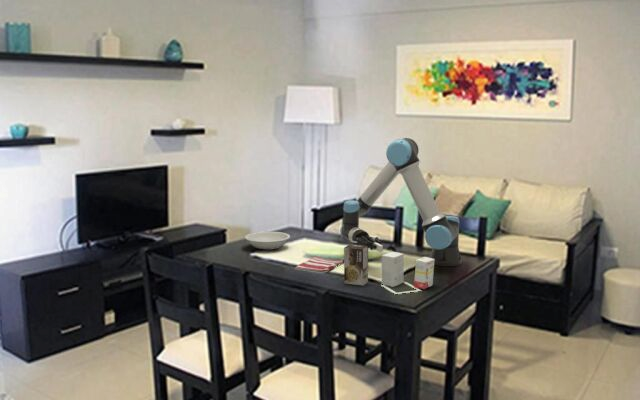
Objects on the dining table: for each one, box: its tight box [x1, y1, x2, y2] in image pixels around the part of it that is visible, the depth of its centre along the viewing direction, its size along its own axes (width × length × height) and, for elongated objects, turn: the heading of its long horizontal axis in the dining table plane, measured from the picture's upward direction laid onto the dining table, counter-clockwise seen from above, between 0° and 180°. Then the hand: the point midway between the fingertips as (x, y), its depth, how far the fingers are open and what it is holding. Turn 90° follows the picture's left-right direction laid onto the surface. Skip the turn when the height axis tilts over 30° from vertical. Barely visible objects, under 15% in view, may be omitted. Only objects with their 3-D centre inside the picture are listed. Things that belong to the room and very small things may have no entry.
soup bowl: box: [244, 231, 291, 250], centre depth 329 cm, size 24×24×7 cm
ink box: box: [413, 256, 435, 290], centre depth 260 cm, size 9×5×12 cm, turn 144°
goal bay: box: [380, 281, 423, 295], centre depth 259 cm, size 12×13×1 cm
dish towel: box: [294, 255, 344, 274], centre depth 295 cm, size 17×23×3 cm
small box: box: [381, 251, 405, 288], centre depth 265 cm, size 8×6×13 cm
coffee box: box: [343, 243, 369, 286], centre depth 266 cm, size 9×6×16 cm
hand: (381, 248), depth 272 cm, fingers closed
